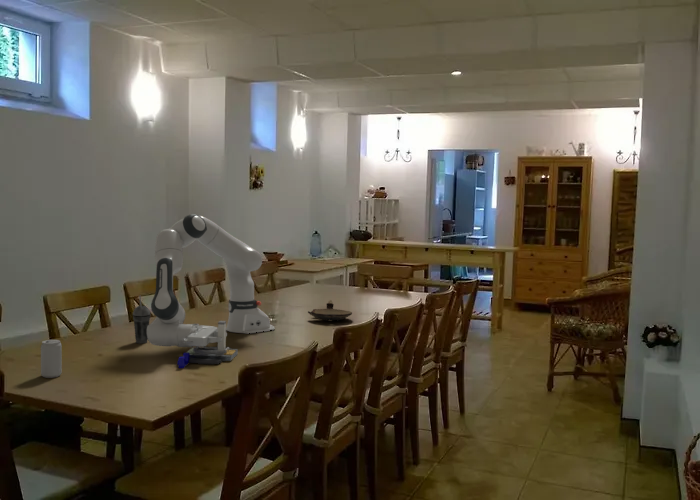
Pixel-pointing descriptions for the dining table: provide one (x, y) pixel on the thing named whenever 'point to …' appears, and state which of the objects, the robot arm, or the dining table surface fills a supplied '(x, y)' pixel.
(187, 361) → the cable holder
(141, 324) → the beverage cup
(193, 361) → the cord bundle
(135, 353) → the dining table surface
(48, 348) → the beverage can
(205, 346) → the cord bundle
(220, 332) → the knob
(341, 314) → the oil lamp
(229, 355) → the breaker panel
